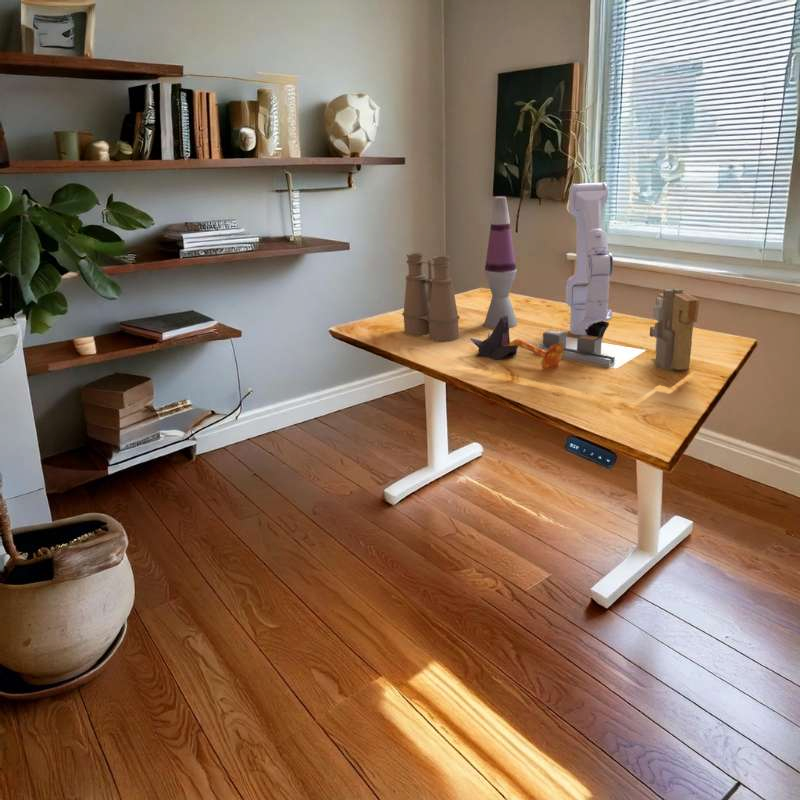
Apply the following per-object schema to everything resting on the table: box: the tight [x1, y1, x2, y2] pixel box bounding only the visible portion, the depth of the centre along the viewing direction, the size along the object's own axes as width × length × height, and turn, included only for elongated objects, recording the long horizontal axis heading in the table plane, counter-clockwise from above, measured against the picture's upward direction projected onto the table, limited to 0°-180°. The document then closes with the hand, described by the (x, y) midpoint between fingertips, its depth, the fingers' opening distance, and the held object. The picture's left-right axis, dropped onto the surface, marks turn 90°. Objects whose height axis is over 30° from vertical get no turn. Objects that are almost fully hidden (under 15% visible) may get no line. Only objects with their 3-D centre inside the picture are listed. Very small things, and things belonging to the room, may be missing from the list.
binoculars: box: [401, 252, 460, 343], centre depth 212 cm, size 21×10×25 cm, turn 46°
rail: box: [535, 343, 615, 368], centre depth 184 cm, size 3×22×2 cm, turn 48°
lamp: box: [483, 196, 518, 329], centre depth 216 cm, size 11×11×40 cm
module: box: [577, 335, 603, 354], centre depth 185 cm, size 4×5×5 cm
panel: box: [529, 336, 647, 370], centre depth 190 cm, size 18×26×1 cm
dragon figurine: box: [469, 316, 564, 371], centre depth 186 cm, size 10×12×25 cm
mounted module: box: [542, 329, 567, 348], centre depth 191 cm, size 4×5×5 cm
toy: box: [649, 288, 700, 371], centre depth 172 cm, size 6×17×20 cm, turn 2°
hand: (594, 348), depth 188 cm, fingers closed
